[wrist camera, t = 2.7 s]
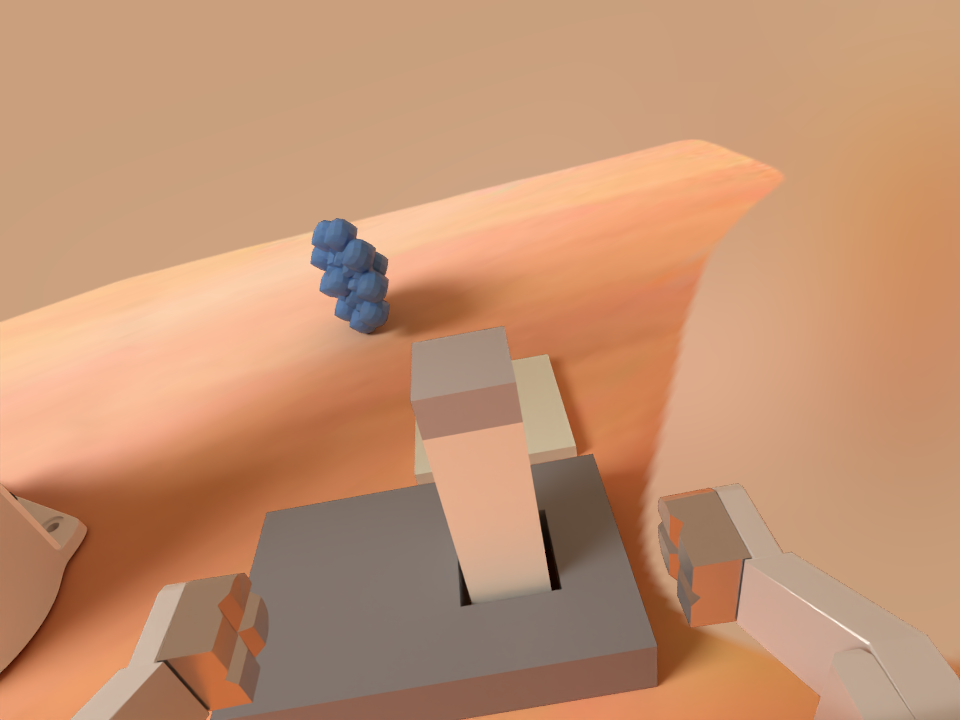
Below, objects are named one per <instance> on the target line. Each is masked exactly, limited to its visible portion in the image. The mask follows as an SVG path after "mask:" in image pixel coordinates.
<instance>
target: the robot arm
mask: <svg viewBox="0 0 960 720" xmlns="http://www.w3.org/2000/svg"><path fill="white" fill-rule="evenodd" d="M658 511H659V514H660V516H661V519H662V522H661V524H660V525H659V526H658V533H659V542H660V548H661V552H662V556H663V559H664V562H665V565H666V568H667V570H668V573H669V575H671V576H672V577H673V578H675V579H676V580H677V581H678V586H677V596H678V598H679V601H680V603H681V606H682V608H683V611H684V613H685V616H686V618H687V620H688V623H689V625H690V628H691V627H698V626H705V625H712V624H719V623H726V622H733V621H737V624H738V625H739V626H740V627H741V628H742V629H744V630H745V631H746V632H747V633H748V634H749V635H750V636H752V637H753V638H754V639H755V640H756V641H757V642H758V643H760V644H761V645H762V646H763V647H764V648H765V649H766V650H768V651H769V652H770V653H771V654H772V655H773V656H774V657H776V658H777V659H778V660H779V661H780V662H781V663H782V664H784V665H785V666H786V667H787V668H788V669H789V670H790V671H792V672H793V673H794V674H795V675H796V676H797V677H798V678H800V679H801V680H802V681H803V682H804V683H805V684H806V685H808V686H809V687H810V688H811V689H812V690H813V691H814V692H816V693H817V694H818V695H819V696H820V700H819V703H818V707H817V710H816V713H815V716H814V719H813V720H960V679H959V678H958V676H957V675H956V674H955V672H954V671H953V669H952V668H951V667H950V665H949V664H948V663H947V661H946V660H945V659H944V657H943V656H942V655H941V653H940V652H939V650H938V649H937V648H936V646H935V645H934V644H933V642H932V641H931V640H930V638H929V637H928V635H926V634H924V633H923V632H921V631H919V630H918V629H916V628H915V627H913V626H911V625H909V624H908V623H906V622H905V621H903V620H901V619H900V618H898V617H897V616H895V615H893V614H892V613H890V612H889V611H887V610H885V609H884V608H882V607H880V606H878V605H877V604H875V603H874V602H872V601H871V600H869V599H867V598H865V597H864V596H862V595H861V594H859V593H858V592H856V591H854V590H853V589H851V588H849V587H848V586H846V585H845V584H843V583H841V582H840V581H838V580H836V579H835V578H833V577H832V576H830V575H828V574H827V573H825V572H823V571H822V570H820V569H818V568H817V567H815V566H813V565H812V564H810V563H809V562H807V561H806V560H804V559H802V558H801V557H799V556H797V555H796V554H794V553H793V552H788V553H783V551H782V550H781V548H780V546H779V545H778V543H777V542H776V540H775V538H774V537H773V535H772V533H771V532H770V530H769V528H768V527H767V525H766V523H765V522H764V520H763V518H762V517H761V515H760V513H759V512H758V510H757V509H756V507H755V505H754V504H753V502H752V500H751V499H750V497H749V495H748V494H747V492H746V491H745V489H744V487H743V486H741V485H740V484H738V483H737V484H731V485H726V486H720V487H715V488H706V489H701V490H696V491H691V492H685V493H681V494H675V495H670V496H665V497H660V499H659V501H658ZM86 533H87V527H86V526H85V525H84V524H83V523H82V522H81V521H80V520H79V519H78V518H76V517H73V516H71V515H68V514H65V513H62V512H60V511H57V510H54V509H51V508H48V507H46V506H43V505H40V504H37V503H35V502H32V501H29V500H26V499H23V498H21V497H18V496H15V495H13V494H12V493H11V492H8V491H7V490H6V488H5V487H4V486H3V485H2V484H1V483H0V673H1V672H2V671H3V670H4V669H5V668H6V667H7V666H8V665H9V664H10V663H11V661H12V660H13V659H14V658H15V657H16V656H17V655H18V654H19V653H20V652H21V650H22V649H23V648H24V647H25V646H26V644H27V643H28V642H29V641H30V639H31V638H32V637H33V635H34V634H35V633H36V631H37V630H38V628H39V627H40V626H41V624H42V623H43V621H44V619H45V618H46V616H47V614H48V613H49V611H50V609H51V607H52V605H53V603H54V601H55V598H56V596H57V593H58V591H59V587H60V584H61V580H62V576H63V572H64V569H65V567H66V565H67V562H68V561H69V559H70V558H71V557H72V555H73V554H74V552H75V551H76V550H77V548H78V547H79V545H80V544H81V542H82V541H83V539H84V537H85V535H86ZM251 585H252V582H251V581H250V580H249V578H248V577H247V575H246V574H245V573H240V574H233V575H226V576H220V577H213V578H206V579H200V580H193V581H187V582H181V583H175V584H169V585H165V586H164V587H163V588H162V589H161V591H160V592H159V593H158V595H157V597H156V600H155V602H154V604H153V607H152V609H151V612H150V614H149V616H148V619H147V621H146V624H145V626H144V629H143V631H142V633H141V636H140V638H139V641H138V643H137V645H136V648H135V650H134V653H133V655H132V658H131V660H130V662H129V665H128V667H127V668H122V669H119V670H118V671H117V672H116V673H115V674H114V675H113V676H112V678H111V679H110V680H109V681H108V682H107V683H106V684H105V685H104V686H103V687H102V688H101V689H100V690H99V691H98V692H97V693H96V694H95V695H94V696H93V697H92V698H91V699H90V700H89V701H88V702H87V703H86V704H85V705H84V706H83V707H82V708H81V709H80V710H79V711H78V712H77V713H76V714H75V715H74V716H73V717H72V718H71V719H70V720H206V718H207V717H208V716H209V712H208V711H213V710H218V709H223V708H228V707H233V706H238V705H243V704H248V703H253V699H254V695H255V690H256V686H257V682H258V677H259V673H260V669H261V667H260V665H259V663H258V661H257V660H256V658H255V657H256V656H257V655H258V654H259V653H260V651H261V650H262V649H263V648H264V646H265V645H266V641H267V637H268V632H269V616H268V611H267V608H266V604H265V603H264V601H263V599H262V598H261V596H259V595H256V594H254V593H252V592H250V589H251Z"/></svg>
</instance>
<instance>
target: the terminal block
mask: <svg viewBox="0 0 960 720" xmlns="http://www.w3.org/2000/svg"><path fill="white" fill-rule="evenodd" d="M530 467H531V473H532V479H533V485H534V490H535V496H536V502H537V508H538V514H539V520H540V526H541V532H542V538H543V543H544V549H545V550H549V549H551V551H552V555H553V560H554V565H555V569H556V574H557V579H558V583H559V588H560V590H554V591H548V592H543V593H537V594H531V595H525V596H520V597H514V598H508V599H502V600H497V601H491V602H485V603H479V604H474V605H470V599H469V592H468V589H467V585H466V582H465V579H464V576H463V572H462V569H461V566H460V562H459V559H458V556H457V553H456V549H455V546H454V543H453V539H452V536H451V533H450V530H449V526H448V523H447V520H446V516H445V513H444V510H443V507H442V503H441V500H440V497H439V493H438V490H437V487H436V484H435V482H434V483H428V484H423V485H417V486H412V487H406V488H401V489H395V490H390V491H384V492H379V493H373V494H367V495H362V496H356V497H351V498H345V499H340V500H334V501H329V502H323V503H318V504H312V505H306V506H301V507H295V508H290V509H284V510H279V511H273V512H268V513H266V517H265V521H264V524H263V528H262V532H261V535H260V539H259V543H258V546H257V550H256V554H255V557H254V561H253V565H252V568H251V572H250V576H249V580H250V581H251V582H252V585H251V589H250V592H252V593H254V594H256V595H259V596H261V598H262V599H263V601H264V603H265V604H266V608H267V611H268V616H269V632H268V637H267V641H266V645H265V646H264V648H263V649H262V650H261V651H260V653H259V654H258V655H257V656H256V657H255V658H256V660H257V661H258V663H259V665H260V667H261V669H260V673H259V677H258V682H257V686H256V690H255V695H254V699H253V703H248V704H243V705H238V706H233V707H228V708H223V709H218V710H213V711H212V715H211V718H210V720H460V719H466V718H472V717H478V716H484V715H490V714H496V713H502V712H508V711H514V710H520V709H526V708H532V707H538V706H544V705H550V704H555V703H561V702H567V701H573V700H579V699H585V698H591V697H597V696H603V695H609V694H615V693H621V692H627V691H633V690H639V689H645V688H651V687H657V643H656V640H655V637H654V634H653V632H652V629H651V626H650V623H649V620H648V617H647V614H646V611H645V608H644V605H643V602H642V599H641V596H640V593H639V590H638V587H637V584H636V581H635V578H634V575H633V572H632V569H631V566H630V563H629V560H628V557H627V554H626V551H625V548H624V545H623V542H622V539H621V536H620V533H619V530H618V527H617V524H616V521H615V518H614V515H613V512H612V509H611V506H610V504H609V501H608V498H607V495H606V492H605V489H604V486H603V483H602V480H601V477H600V474H599V471H598V468H597V465H596V462H595V459H594V456H593V454H589V455H584V456H578V457H573V458H567V459H562V460H556V461H551V462H545V463H539V464H534V465H530Z"/></svg>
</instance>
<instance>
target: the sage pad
mask: <svg viewBox="0 0 960 720" xmlns="http://www.w3.org/2000/svg"><path fill="white" fill-rule="evenodd" d="M512 365H513V370H514V375H515V379H516V385H517V390H518V396H519V402H520V408H521V414H522V420H523V426H524V432H525V438H526V443H527V449H528V455H529V461H530V465H532V464H538V463H543V462H549V461H555V460H560V459H566V458H571V457H577V450H576V444H575V441H574V437H573V434H572V431H571V428H570V424H569V421H568V418H567V415H566V411H565V408H564V405H563V402H562V398H561V395H560V392H559V389H558V385H557V382H556V379H555V376H554V372H553V369H552V366H551V363H550V359H549V356H548V354H544V355H539V356H534V357H528V358H523V359H517V360H512ZM415 478H416V481H417V484H418V485H421V484H427V483H433V482H435V480H434V477H433V474H432V470H431V467H430V464H429V461H428V457H427V454H426V451H425V448H424V444H423V441H422V438H421V434H420V431H419V428H418V425H417V421H416V418H415Z"/></svg>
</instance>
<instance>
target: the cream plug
mask: <svg viewBox="0 0 960 720" xmlns="http://www.w3.org/2000/svg"><path fill="white" fill-rule="evenodd" d="M410 402H411V405H412V408H413V411H414V415H415V418H416V421H417V425H418V428H419V431H420V434H421V438H422V441H423V444H424V448H425V451H426V454H427V457H428V461H429V464H430V467H431V470H432V474H433V477H434V480H435V484H436V487H437V490H438V493H439V497H440V500H441V503H442V507H443V510H444V513H445V516H446V520H447V523H448V526H449V530H450V533H451V536H452V539H453V543H454V546H455V549H456V553H457V556H458V559H459V562H460V566H461V569H462V572H463V576H464V579H465V582H466V585H467V589H468V592H469V595H470V599H471V602H472V605H474V604H479V603H485V602H491V601H497V600H502V599H508V598H514V597H520V596H525V595H531V594H537V593H543V592H548V591H551V585H550V579H549V573H548V567H547V561H546V555H545V549H544V543H543V538H542V532H541V526H540V520H539V514H538V508H537V502H536V496H535V490H534V485H533V479H532V473H531V467H530V461H529V455H528V449H527V443H526V438H525V432H524V426H523V420H522V414H521V408H520V402H519V396H518V390H517V385H516V379H515V375H514V370H513V365H512V361H511V356H510V352H509V347H508V342H507V338H506V333H505V328H504V326H501V327H495V328H490V329H485V330H479V331H474V332H469V333H463V334H458V335H453V336H447V337H442V338H437V339H431V340H426V341H421V342H415V343H412V359H411V399H410Z"/></svg>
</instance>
